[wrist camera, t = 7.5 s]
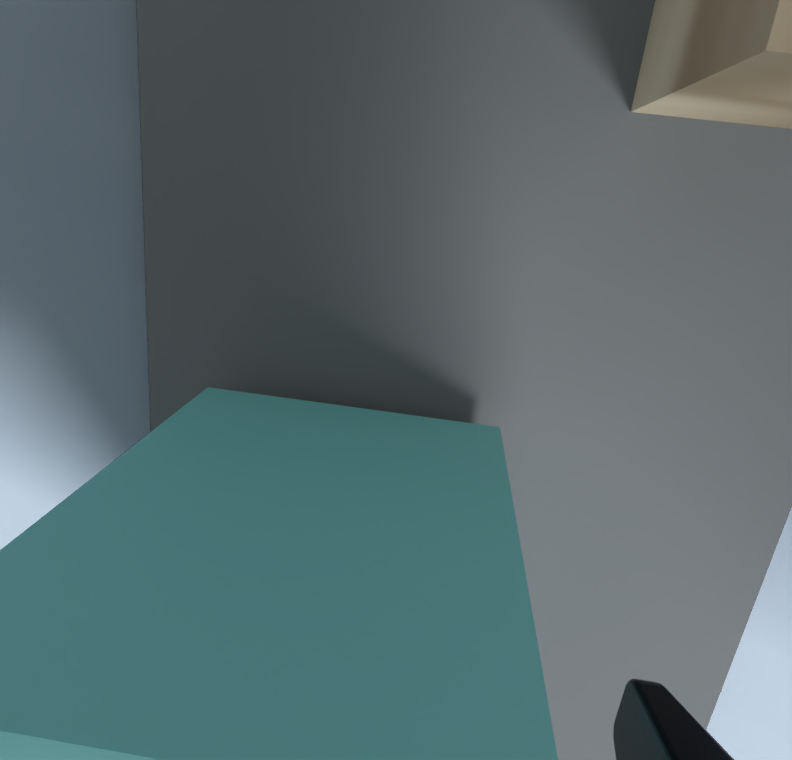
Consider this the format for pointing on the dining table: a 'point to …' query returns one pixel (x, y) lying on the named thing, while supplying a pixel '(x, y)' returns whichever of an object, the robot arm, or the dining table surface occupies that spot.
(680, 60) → the tan block
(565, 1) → the mat
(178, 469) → the teal rectangular block
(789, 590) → the dining table surface
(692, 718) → the robot arm
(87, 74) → the dining table surface
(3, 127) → the dining table surface
